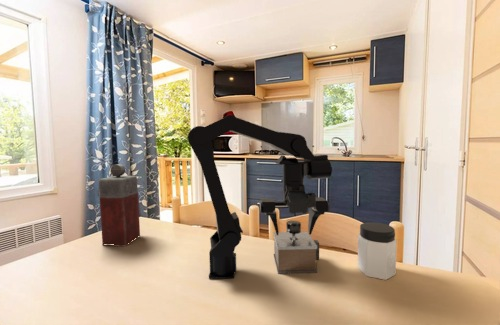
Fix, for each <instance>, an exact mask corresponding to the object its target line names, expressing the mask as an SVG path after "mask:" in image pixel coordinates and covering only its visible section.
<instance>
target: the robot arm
mask: <svg viewBox="0 0 500 325" xmlns="http://www.w3.org/2000/svg"><path fill="white" fill-rule="evenodd" d="M228 132H230V133H234V134H237V135H239V136H243V137H245V138H249V139H252V140H255V141H258V142H261V143H263V144H267V145H269V146H270V147H272V148H274V149H275V150H277V151H279V152H280V153H282V154H284V155H280V157H279V158H278V159H277V160H275V164H277V165H282V194H283V196H282V200H283V201H281V200H280V201H278V200H277V201H275V199H274V198H273V197H272V198H271V197H270V198H269V197H267V198H266V197H265V198H263V197H262V198H260V200H259V209H260V213H263V214H264V213H265V216H268V217H270V220H271V221H272V224H273V227H274V230H275V232H276V234H277V235H278V232H279V225H278V217H277V216H278V215H277V211H276V209H288V212H289V213H290V214H307V213H308V225H307V229H308V231H307V232H308V233H309V235H310V236H311V235H312V233H313V230H314V228H315V226H316V222H317V221H318V219H319V218H320V216H322V215H325V212H330V209H331V208H330V206H331V205H330V202H329V201H328V200H327V199H326V198H324V197H322V196H321V197H317V196H316V193H315V192H307V193H306V191H305V189H306V188H305V182H304V181H305V178H307V179H308V180H315V179H316V180H321V179H330V178H331V176H332V172H333V167H332V164H331V162H330V159H329V156H328V154H318V155H315V154H313V152H312V151H311V149H310V148H309V147H308V144H307V141H306V137H305V136H303V135H301V134H299V133H298V134H297V133H291V132H283V131H276V130H273V129H271V128H267V127H264V126H261V125H258V124H255V123H253V122H250V121H247V120H245V119H241V118H239V117H237V116H235V115H233V114H227V115H226V116H224V117H223V118H221V119H218V120H217V121H214V122H213V123H210V124H208V125H205V126H202V125H200V126H199V125H197V126H193V127H192V128H191V129H190V130H189V132H188V135H187V140H188V144H189V145H190V147H191V149H192V151H193V153H194V155H195V156H196V160H198V162H199V164H200V167H201V170H202V173H203V177H204V179H205V183H206V185H207V187H206V188H207V190H208V194H209V196H210V200H211V203H212V205H213V209H214V212H215V220H216V221H215V224H216V231H215V232H214V233H213V234H212V235H211V236H210V238H209V240H210V241H209V242H210V250H209V256H208V257H209V274H208V279H211V280H212V279H214V280H215V279H234V278H235V273H237V253H236V252H235V249H236V247H238V245H239V244H240V242H241V241H242V234H243V233H244V231H243V229H242V227H241V224H240V219H239V218H240V217H239V216H238V213H236V211H234V212H231V210H230V208H229V206H228V205H229V204H228V202H227V199H226V195H225V191H224V189H223V186H222V182H221V179H220V176H219V172H218V168H217V165H216V162H215V153H214V142H213V140H215V139H217V138H219V137H221V136H223V135H224V134H227V133H228ZM285 155H286V156H293V157H286V156H285ZM298 159H300V161H299V160H298ZM301 159H302V160H301Z"/></svg>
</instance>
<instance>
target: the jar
mask: <svg viewBox="0 0 500 325" xmlns="http://www.w3.org/2000/svg"><path fill="white" fill-rule="evenodd" d="M395 237H396V229H395V228H394V227H392V226H391V225H388V224H386V223H382V222H368V221H367V222H363V223H361V224H360V225H359V234H357V268H358V269H359V270H360V271H361V272H362V273H363V274H364V275H365V276H366V277H369V278H375V279H379V280H384V281H388V279H391V278H392V277H393V276H395V275H396V272H397V267H396V266H397V239H396V238H395Z"/></svg>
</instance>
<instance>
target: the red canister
mask: <svg viewBox="0 0 500 325" xmlns="http://www.w3.org/2000/svg"><path fill="white" fill-rule="evenodd" d="M110 173H111V175H112V176H109V177H108V176H107V177H103V178H100V179H99V180H98V196H99V197H98V198H99V210H100V224H101V226H100V227H101V239H102V240H101V241H102V245H103V244H114V245H127V244H128V243H130V242H131V241H132V240H134V239H135V238H137V237H138V236H140V237H141V228H140V203H139V202H140V200H139V191H138V190H139V189H138V178H137V176H135V175H124V174H125V173H126V168H125V166H124V165H123V164H121V163H118V164H116V163H115V164H113V165H111V167H110ZM137 239H138V238H137ZM134 241H135V240H134ZM131 243H132V242H131ZM131 243H130V244H131ZM128 245H129V244H128ZM128 245H127V246H128Z"/></svg>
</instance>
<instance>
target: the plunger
mask: <svg viewBox="0 0 500 325" xmlns="http://www.w3.org/2000/svg"><path fill="white" fill-rule="evenodd" d="M285 223H286V232H288V233H291V234H292V240H295V234H298V233H300V232H302V222H300V221H298V220H287V222H285Z"/></svg>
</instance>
